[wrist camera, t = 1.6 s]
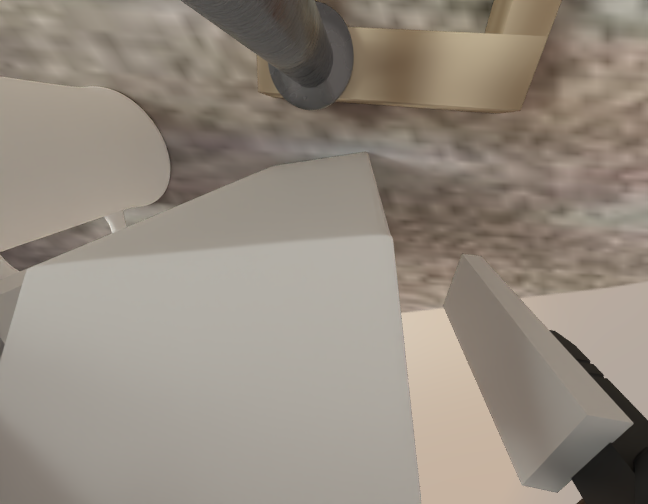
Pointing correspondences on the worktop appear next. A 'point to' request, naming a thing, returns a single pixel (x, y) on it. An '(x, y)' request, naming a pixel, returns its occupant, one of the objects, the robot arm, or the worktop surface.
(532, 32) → the tan flat frame
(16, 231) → the mug
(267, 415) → the milk carton
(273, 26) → the metal door lever handle
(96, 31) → the worktop surface
